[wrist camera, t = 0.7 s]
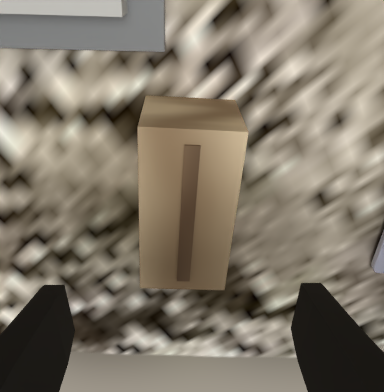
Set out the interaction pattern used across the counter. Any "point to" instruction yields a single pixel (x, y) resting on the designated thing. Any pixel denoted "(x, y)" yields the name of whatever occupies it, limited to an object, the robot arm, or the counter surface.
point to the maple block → (188, 190)
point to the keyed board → (83, 24)
